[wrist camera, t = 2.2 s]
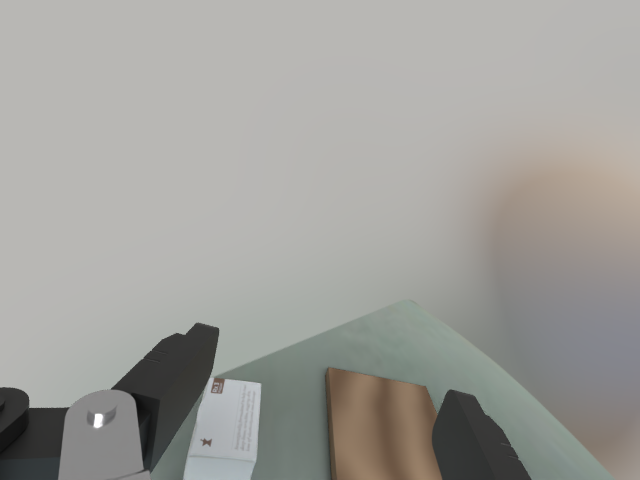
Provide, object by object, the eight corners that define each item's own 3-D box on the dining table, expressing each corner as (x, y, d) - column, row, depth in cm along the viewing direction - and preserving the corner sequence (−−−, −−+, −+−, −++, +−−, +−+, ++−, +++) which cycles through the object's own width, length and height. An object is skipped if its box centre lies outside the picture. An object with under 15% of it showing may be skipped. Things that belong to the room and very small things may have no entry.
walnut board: (421, 394, 46) (426, 386, 45) (465, 511, 33) (472, 502, 32) (325, 375, 44) (328, 367, 43) (332, 492, 31) (337, 482, 30)
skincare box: (227, 566, 24) (263, 465, 20) (163, 565, 23) (185, 459, 19) (238, 476, 30) (267, 381, 25) (186, 473, 29) (207, 373, 24)
